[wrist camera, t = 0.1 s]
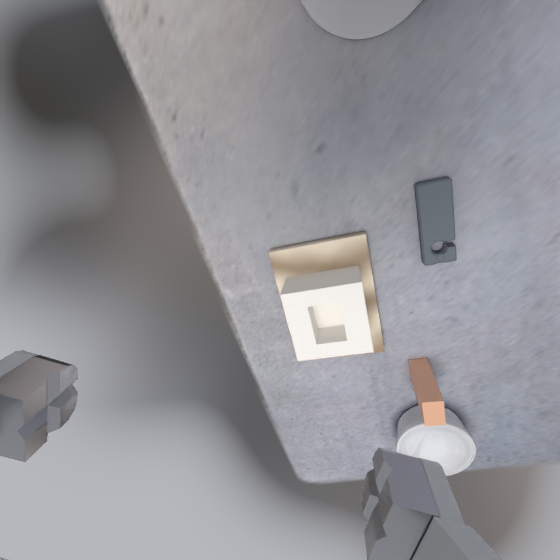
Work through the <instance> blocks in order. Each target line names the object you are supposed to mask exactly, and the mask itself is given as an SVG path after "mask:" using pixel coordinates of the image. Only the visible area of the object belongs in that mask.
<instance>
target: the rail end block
mask: <svg viewBox="0 0 560 560" xmlns="http://www.w3.org/2000/svg"><path fill="white" fill-rule="evenodd" d="M409 366H410V374H411V381H412V384H413V388H414V391H415V395H416V398H417V402H418V405H419V408H420V412H421V415H422V419H423V422H424V425H425V426H437V425H446V420H445V409H444V400H443V398H442V395H441V393H440V390H439V387H438V385H437V382H436V380H435V377H434V375H433V372H432V369H431V367H430V364H429V362H428V359H427V358H419V359H409Z"/></svg>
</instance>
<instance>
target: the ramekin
mask: <svg viewBox="0 0 560 560" xmlns="http://www.w3.org/2000/svg"><path fill="white" fill-rule="evenodd" d="M444 409H445V420H446V425H437V426H425V425H424V422H423V419H422V415H421V412H420V408H419V405H417V406H415V407H412V408H410V409H409V410H407V411H406V412H405V413H404V414H403V415H402V416H401V418H400V419H399V422H398V426H397V439H396V451H397V452H398V453H401V454H405V455H409V456H413V457H416V458H422V459H426V460H430V461H434V462H439V464H440V465H441V466H442V467H443V470H444V473H445V475H446V476H449V475H453V474H456V473H458V472H460V471H462V470H464V469H466V468H467V467H468V466H469V465H470V464H471V463H472V461H473V460H474V458H475V455H476V446H475V442H474V440H473V438H472V436H471V435H470V433H469V432H468V431H467V430H466V429H465V427H464V426H463V424H462V423H461V421H460V420H459V418H458V417H457V416H456V415H455V414H454V413H453V412H452V411H451V410H449V409H447V408H445V407H444Z"/></svg>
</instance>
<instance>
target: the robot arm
mask: <svg viewBox="0 0 560 560" xmlns="http://www.w3.org/2000/svg"><path fill="white" fill-rule="evenodd" d="M422 1H423V0H301V2H302V4H303V6H304V8H305V9H306V11H307V13H308V14H309V15H310V16H311V18H312V19H313V20H314V21H315V22H316V23H317V24H318V25H319V26H320V27H322V28H323V29H324V30H326V31H327V32H329V33H331V34H333V35H336V36H339V37H342V38H346V39H366V38H371V37H375V36H378V35H380V34H383V33H385V32H387V31H389V30H391V29H392V28H394V27H395V26H397V25H398V24H399V23H401V22H402V21H403V20H404V19H405V18H406V17H408V16H409V15H410V14H411V12H412V11H413V10H414V9H415V8H416V7H417V6H418V5H419V4H420V3H421V2H422ZM77 370H78V369H77V367H75V366H74V365H72V364H68V363H65V362H62V361H58V360H55V359H51V358H48V357H45V356H41V355H37V354H33V353H30V352H27V351H23V350H22V351H15V352H14V353H12V354H10V355H8V356H7V357H5V358H3V359H1V360H0V456H4V457H8V458H12V459H15V460H19V461H23V462H26V461H27V460H28V459H29V458H30V457H31V456H32V455H33V454H34V453H35V452H36V451H37V450H38V449H39V448H40V447H41V446H42V445H43V444H44V443H45V442H47V436H48V433H49V432H52V431H54V430H57V429H59V428H61V427H62V426H63V425H64V424H65V423H66V422H67V421H68V420H69V418H70V416H71V415H72V413H73V411H74V409H75V407H76V403H77V391H76V389H75V388H74V386H73V383H74V382H75V381H76V380H77V379H78V371H77ZM373 466H374V469H372V470H370V471H369V472H367V475H366V477H365V480H364V484H363V490H362V513H363V515H364V516H365V518H366V519H367V521H368V524H367V526H366V529H365V531H364V534H365V543H366V553H367V560H502V559H501V558H500V557H499V556H498V555H497V554H496V553H495V552H494V551H493V550H492V549H491V547H490V546H489V545H488V544H487V543H486V542H485V541H484V540H483V539H482V538H481V537H480V536H479V535H478V533H477V532H475V530H474V529H473V528H472V527H469V526H466V525H465V524H464V521H463V519H462V516H461V514H460V511H459V508H458V506H457V503H456V501H455V499H454V496H453V493H452V491H451V488H450V485H449V483H448V480H447V478H446V475H445V473H444V470H443V467H442V466H441V465H440V464H439V462H434V461H430V460H426V459H422V458H416V457H413V456H409V455H405V454H401V453H398V452H394V451H390V450H386V449H382V448H378V449H377V450H376V452H375V454H374V457H373ZM0 560H7V559H4V558H1V557H0Z"/></svg>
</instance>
